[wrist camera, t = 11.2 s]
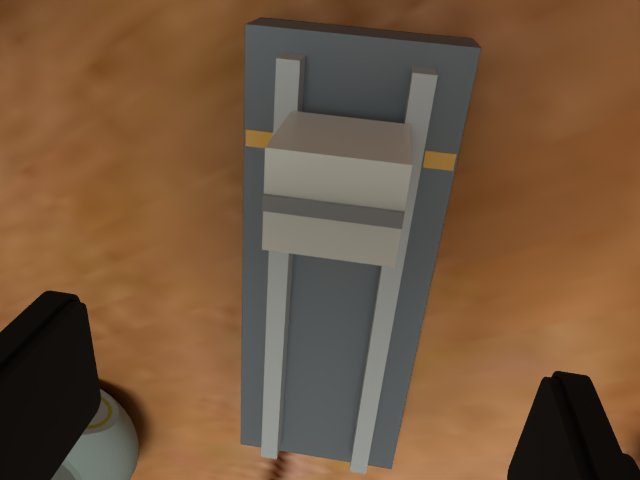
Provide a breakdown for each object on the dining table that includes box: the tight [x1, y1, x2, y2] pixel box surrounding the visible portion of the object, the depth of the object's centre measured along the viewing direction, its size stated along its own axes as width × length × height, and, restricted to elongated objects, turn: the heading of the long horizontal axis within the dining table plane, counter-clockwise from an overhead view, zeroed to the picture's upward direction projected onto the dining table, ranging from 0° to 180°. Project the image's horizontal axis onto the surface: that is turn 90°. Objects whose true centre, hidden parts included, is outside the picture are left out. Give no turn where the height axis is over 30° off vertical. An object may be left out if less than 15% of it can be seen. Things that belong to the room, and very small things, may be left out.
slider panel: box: [241, 17, 481, 474], centre depth 29 cm, size 10×26×4 cm, turn 175°
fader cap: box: [262, 111, 412, 268], centre depth 22 cm, size 5×4×7 cm
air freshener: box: [51, 389, 139, 480], centre depth 36 cm, size 11×8×10 cm
